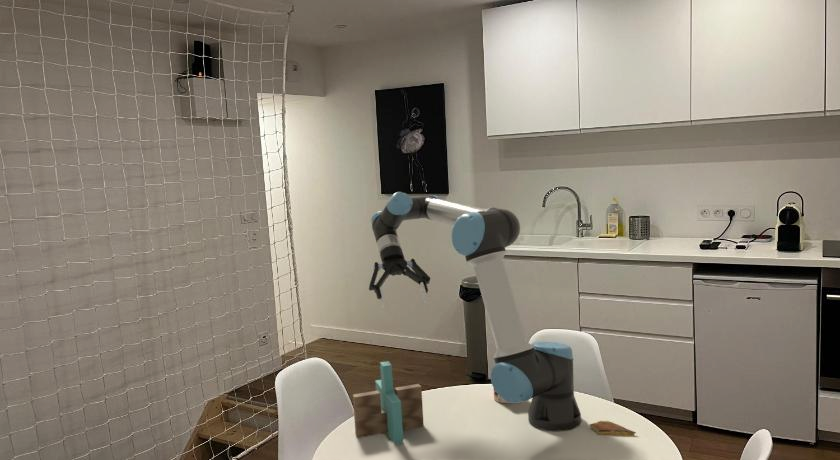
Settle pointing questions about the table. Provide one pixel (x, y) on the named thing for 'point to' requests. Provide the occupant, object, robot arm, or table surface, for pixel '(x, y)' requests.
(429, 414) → the table surface
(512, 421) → the table surface
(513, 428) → the table surface
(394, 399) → the teal slotted plate
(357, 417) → the walnut slotted plate
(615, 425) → the pie slice
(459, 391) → the table surface
